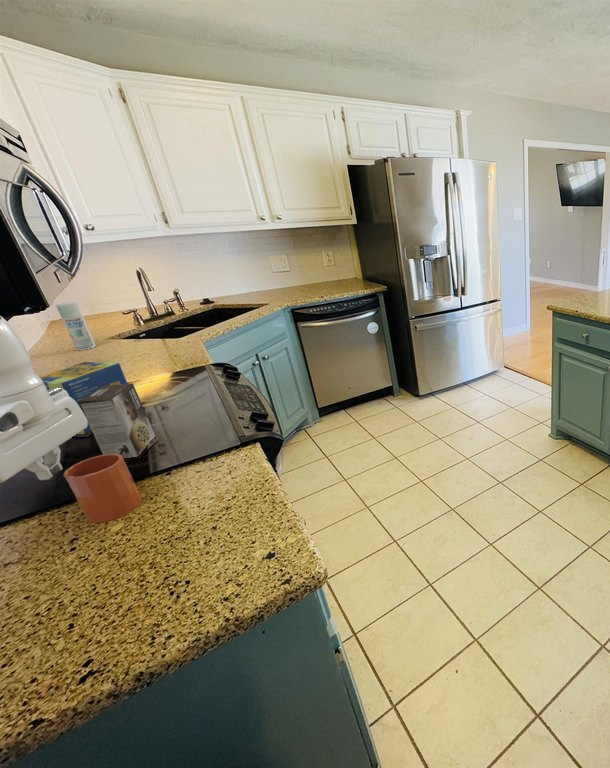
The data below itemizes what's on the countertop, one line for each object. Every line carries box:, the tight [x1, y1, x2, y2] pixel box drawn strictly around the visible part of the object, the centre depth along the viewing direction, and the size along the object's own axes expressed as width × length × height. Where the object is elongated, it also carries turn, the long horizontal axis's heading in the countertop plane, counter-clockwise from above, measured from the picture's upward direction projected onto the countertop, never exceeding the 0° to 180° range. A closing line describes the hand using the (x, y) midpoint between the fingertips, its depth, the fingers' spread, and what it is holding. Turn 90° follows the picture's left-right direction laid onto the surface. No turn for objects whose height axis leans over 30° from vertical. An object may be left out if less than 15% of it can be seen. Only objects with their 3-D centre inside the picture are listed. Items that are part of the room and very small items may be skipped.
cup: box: [63, 454, 142, 524], centre depth 76 cm, size 8×8×10 cm
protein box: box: [39, 361, 128, 434], centre depth 108 cm, size 10×15×16 cm
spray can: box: [55, 301, 96, 351], centre depth 174 cm, size 6×6×20 cm
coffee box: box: [78, 382, 156, 459], centre depth 94 cm, size 9×6×16 cm
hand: (51, 475), depth 73 cm, fingers closed
